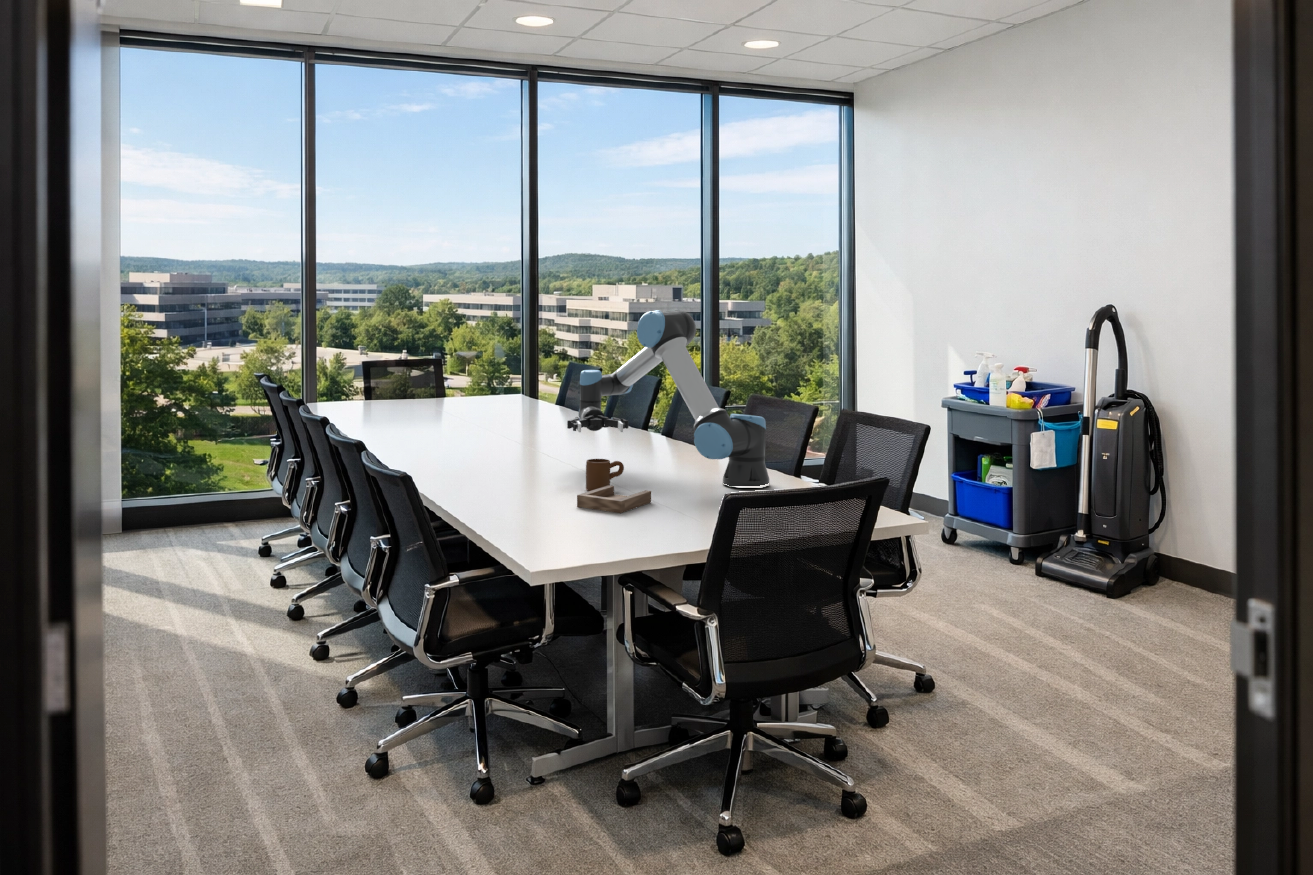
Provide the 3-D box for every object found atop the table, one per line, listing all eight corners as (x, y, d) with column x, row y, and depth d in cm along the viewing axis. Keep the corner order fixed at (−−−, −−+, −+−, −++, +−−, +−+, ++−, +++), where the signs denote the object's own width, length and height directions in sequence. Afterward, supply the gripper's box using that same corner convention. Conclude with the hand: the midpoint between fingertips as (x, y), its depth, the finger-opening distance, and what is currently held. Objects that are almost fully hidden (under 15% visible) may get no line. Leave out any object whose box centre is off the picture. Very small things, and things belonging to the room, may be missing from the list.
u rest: (651, 502, 299) (651, 490, 298) (620, 513, 284) (621, 501, 284) (608, 496, 306) (608, 485, 306) (577, 506, 291) (577, 495, 291)
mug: (621, 486, 321) (622, 457, 320) (625, 491, 314) (626, 462, 312) (584, 487, 319) (584, 458, 317) (587, 492, 311) (587, 462, 310)
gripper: (629, 429, 346) (639, 439, 326) (556, 429, 342) (562, 439, 321) (629, 407, 345) (639, 416, 325) (557, 407, 341) (562, 416, 320)
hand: (601, 428), depth 323 cm, fingers open, 13 cm apart
